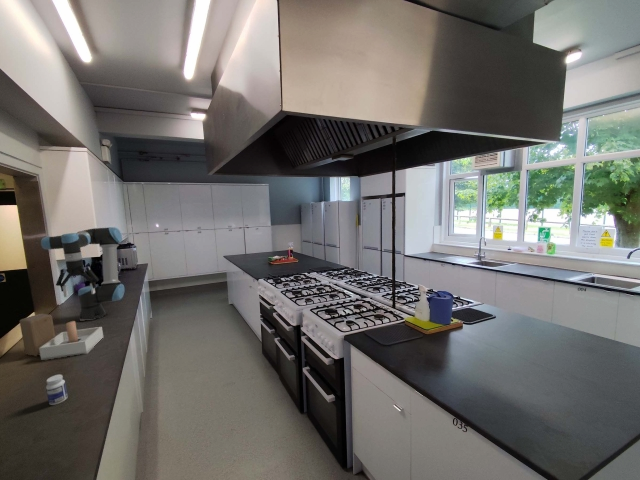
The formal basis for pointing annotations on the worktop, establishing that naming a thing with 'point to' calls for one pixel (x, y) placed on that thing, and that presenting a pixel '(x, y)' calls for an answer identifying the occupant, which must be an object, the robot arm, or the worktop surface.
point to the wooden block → (36, 332)
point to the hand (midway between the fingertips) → (80, 294)
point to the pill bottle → (56, 390)
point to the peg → (72, 332)
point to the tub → (71, 344)
